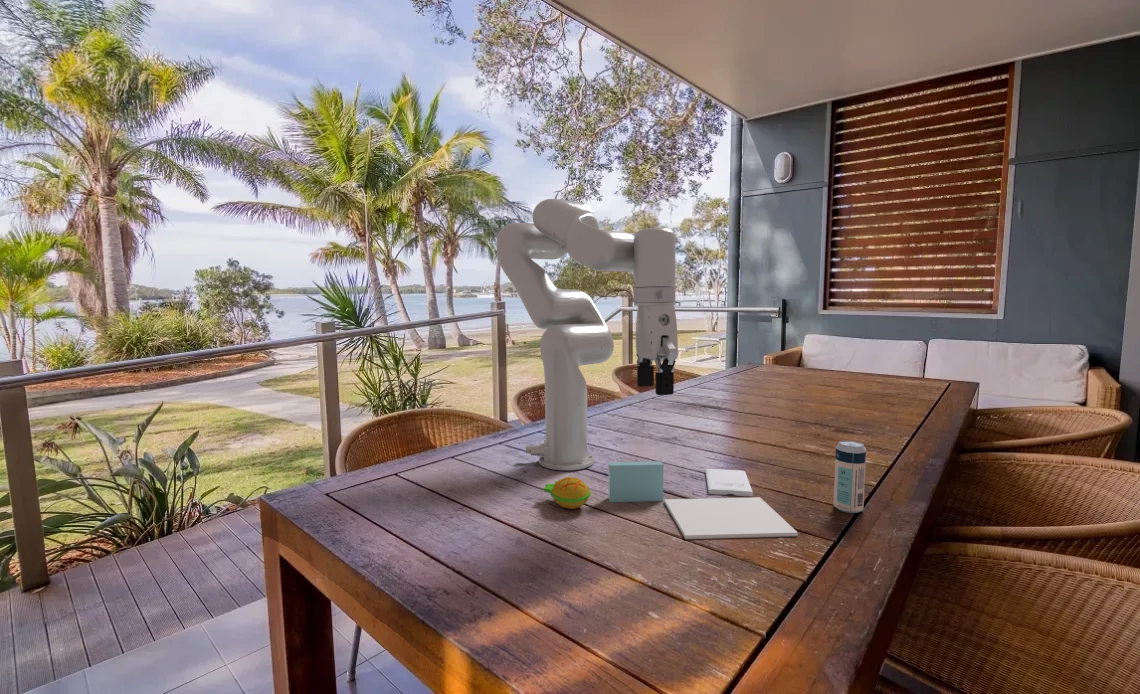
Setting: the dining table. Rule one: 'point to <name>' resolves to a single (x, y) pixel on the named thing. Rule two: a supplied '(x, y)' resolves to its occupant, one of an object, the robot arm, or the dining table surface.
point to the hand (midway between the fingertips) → (654, 390)
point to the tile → (635, 481)
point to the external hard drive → (728, 482)
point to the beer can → (849, 476)
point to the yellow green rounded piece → (569, 492)
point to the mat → (727, 518)
